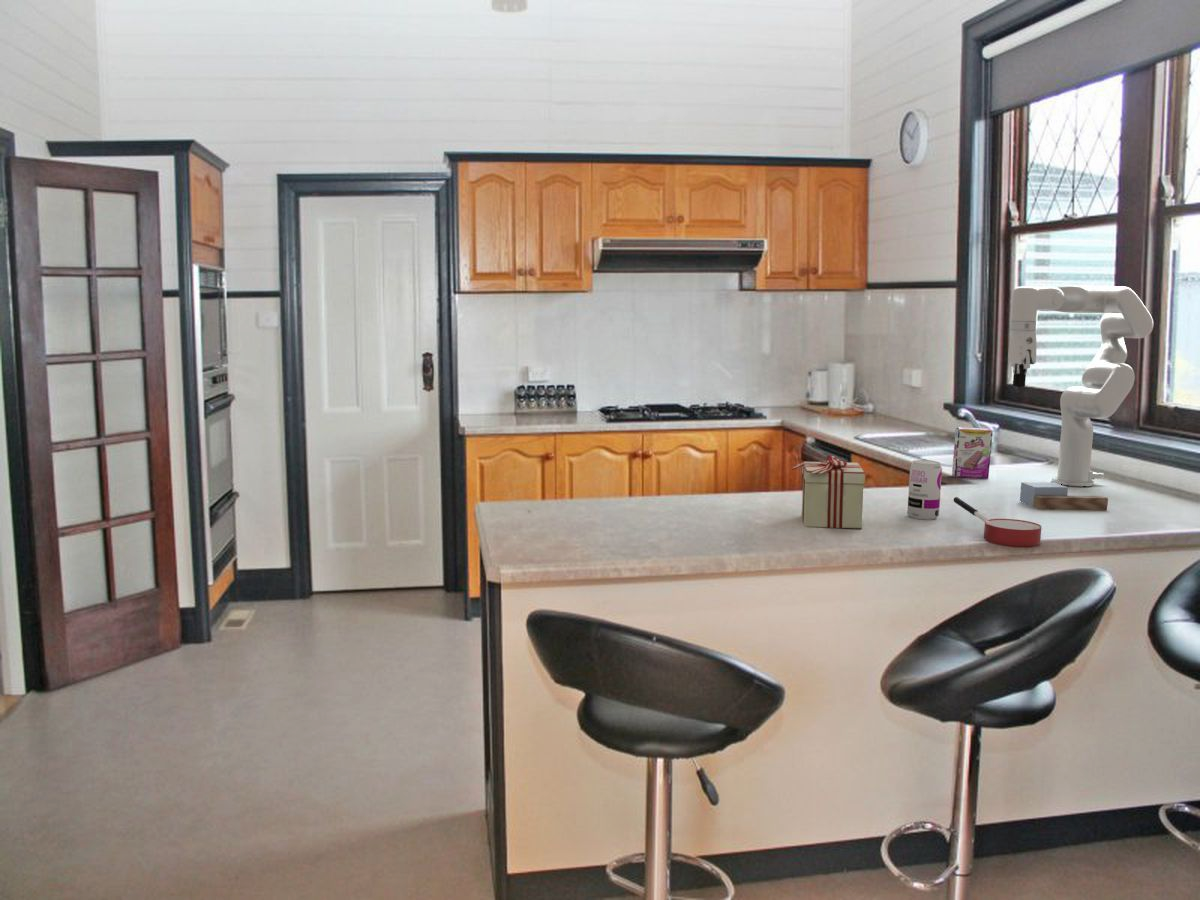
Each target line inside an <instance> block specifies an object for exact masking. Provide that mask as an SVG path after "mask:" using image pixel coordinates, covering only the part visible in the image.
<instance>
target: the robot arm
mask: <svg viewBox="0 0 1200 900" xmlns="http://www.w3.org/2000/svg"><path fill="white" fill-rule="evenodd" d="M1038 312H1060V313H1066V314H1067V313H1068V314H1069V313H1072V314H1073V313H1075V314H1084V313H1085V314H1104V315H1103V316H1102V317H1101V319H1100V322H1099V330H1100V335H1101V346H1100V349H1099V350H1098V351H1097V353H1096V355H1094V357H1093V359H1092V361H1090V363H1089V364H1088V365H1087V367H1086V369H1085V370H1084V372H1083V373H1082V377H1081V382H1082V384H1083V386H1081V385H1080V386H1079V385H1076V386H1070V387H1068V388H1067V389H1065V390H1064V391H1063V392H1062V393H1061V396H1060V399H1059V400H1060V402H1059V404H1060V406H1059V407H1060V413H1061V426H1060V427H1061V429H1060V441H1059V453H1058V467H1057V476H1055V477H1052V478H1051V482H1054V483H1057V484H1060V485H1061V484H1062V485H1063V486H1067V485H1068V486H1067V487H1069V486H1070V487H1083V486H1086V487H1093V486H1094V485H1095V481H1093V480H1095V479H1098V480H1104V479H1105V473H1104V472H1095V471H1094V470H1091V461H1092V450H1093V449H1092V448H1093V440H1094V439H1093V437H1094V427H1093V424H1092V420H1091V419H1097V420H1106V419H1108V418H1110V417H1111V416H1113V414H1115V413H1116V411H1117V410H1118V409H1119V407H1120V406H1121V404H1122V403H1123V402H1124V400H1126V398H1127V396H1128V395H1129V393H1130V392H1131V390H1132V389H1133V386H1134V384H1135V379H1136V378H1135V372H1134V369H1133V367H1131V366H1130V365H1129V364H1126V363H1125V362H1126V361H1127V358H1128V350H1127V347H1126V344H1125V339H1143V338H1144V339H1145V338H1146V337H1148V336H1149V335H1150V334H1151V333H1152V332H1153V329H1154V319H1153V317H1152V315H1151V313H1150V312H1149V310H1148V309H1147V306H1145V305H1144V303H1143V301H1142V300H1141V298H1140V297H1139V296H1138V294H1136V292H1135V291H1134V290H1132V288H1130V287H1128V286H1099V285H1097V286H1096V285H1065V286H1036V285H1035V286H1015V288H1014V289H1013V291H1012V303H1011V315H1010V316H1011V317H1010V330H1009V331H1010V332H1011V333H1010V339H1009V345H1008V357H1007V358H1008V362H1009V363H1011V364H1010V366H1011V367H1012V372H1013V376H1012V377H1013V379H1012V386H1013V387H1016V388H1017V387H1018V388H1024V387H1025V386H1026V377H1027V373H1028V369H1030V368H1031V365H1035V364H1036V362H1037V327H1038Z"/></svg>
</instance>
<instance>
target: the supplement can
mask: <svg viewBox="0 0 1200 900" xmlns="http://www.w3.org/2000/svg"><path fill="white" fill-rule="evenodd" d="M909 468H910V469H909V479H908V480H909V483H908V497H907V498H908V499H907V513H906V514H907V515H908V517H910V518H911V519H916V520H923V521H928V520H930V521H931V520H936V519H937V518H938V517H939V516H940V503H941V486H942V477H943V476H942V475H943V467H942V466H941V462H939V461H935V460H927V459H926V460H925V459H924V460H923V459H921V460H919V459H917V460H913V461H912V463H911V464H910V466H909Z"/></svg>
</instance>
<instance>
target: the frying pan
mask: <svg viewBox="0 0 1200 900" xmlns="http://www.w3.org/2000/svg"><path fill="white" fill-rule="evenodd" d="M953 503H955V504H957V505H958V506H960V508H963V509H964V510H965V511H967V512H968V513H969V514H971V515H972V516H975V517H977V518H978V519H980V520H981V521H983V522H984V528H983V529H984V530H983V539H984V540H985V541H986V542H988V543H990V544H991V543H992V544H994V545H1000V546H1005V547H1015V548H1031V547H1036V546H1039V545H1040V543H1041V538H1042V525H1041V524H1038V523H1036V522H1032V521H1028V520H1022V519H1013V518H990V519H989V518H987V517H986V516H985V515H983V514H982V513H980V512H979V511H978V510H977V509H975V508H974V507H973V506H971V505H970V504H968V503H967V502H965V500H962V499H960V498H959V497H957V496H954V498H953Z"/></svg>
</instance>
